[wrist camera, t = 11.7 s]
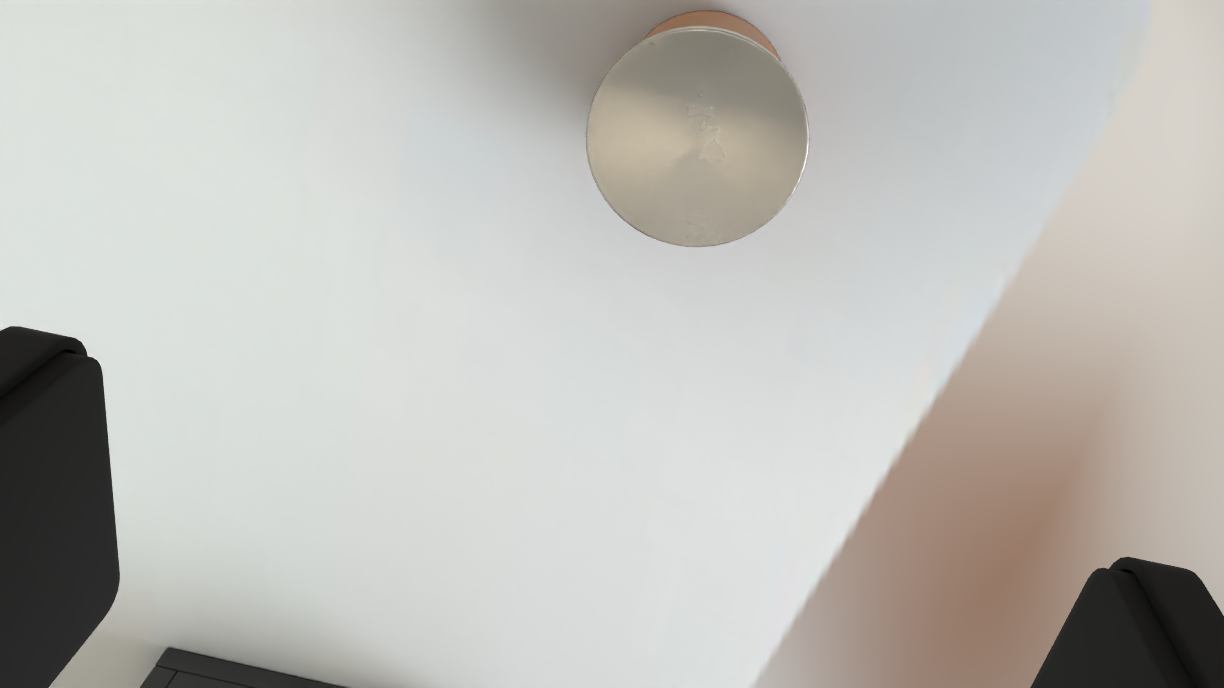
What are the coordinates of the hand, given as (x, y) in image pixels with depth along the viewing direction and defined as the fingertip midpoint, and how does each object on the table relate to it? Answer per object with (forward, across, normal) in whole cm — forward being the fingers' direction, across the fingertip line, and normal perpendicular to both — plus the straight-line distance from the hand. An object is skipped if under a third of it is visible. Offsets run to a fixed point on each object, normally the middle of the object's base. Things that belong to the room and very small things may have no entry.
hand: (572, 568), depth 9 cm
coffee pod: (+16, -1, -1) cm, 16 cm away
